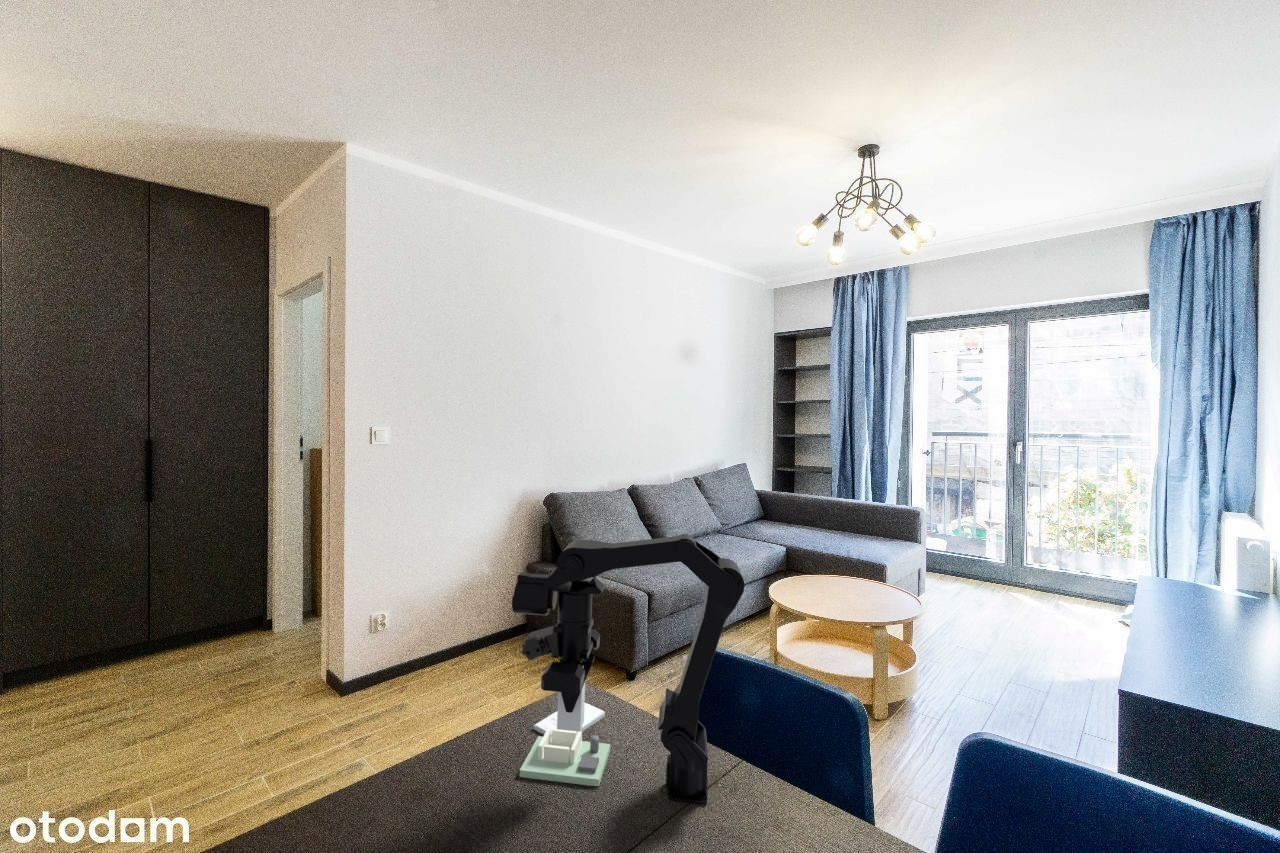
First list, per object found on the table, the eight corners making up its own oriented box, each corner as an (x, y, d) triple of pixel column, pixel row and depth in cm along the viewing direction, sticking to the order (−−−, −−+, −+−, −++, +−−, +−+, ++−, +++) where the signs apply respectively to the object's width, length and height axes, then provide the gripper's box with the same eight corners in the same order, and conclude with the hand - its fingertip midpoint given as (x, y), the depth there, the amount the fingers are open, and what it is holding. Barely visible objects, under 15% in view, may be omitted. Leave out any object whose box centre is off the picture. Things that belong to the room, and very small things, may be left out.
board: (610, 750, 101) (610, 730, 101) (598, 786, 91) (599, 765, 91) (538, 742, 103) (538, 723, 103) (519, 776, 93) (520, 755, 93)
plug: (583, 721, 93) (585, 672, 93) (580, 731, 90) (582, 681, 90) (561, 719, 94) (563, 670, 94) (556, 729, 91) (558, 679, 91)
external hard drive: (604, 719, 112) (563, 747, 102) (575, 705, 117) (533, 731, 107) (605, 711, 112) (563, 739, 102) (576, 698, 117) (533, 723, 107)
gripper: (543, 595, 102) (541, 676, 102) (510, 634, 83) (507, 734, 84) (601, 599, 101) (598, 681, 101) (581, 640, 82) (577, 741, 82)
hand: (571, 706), depth 92 cm, fingers closed on plug, 3 cm apart
